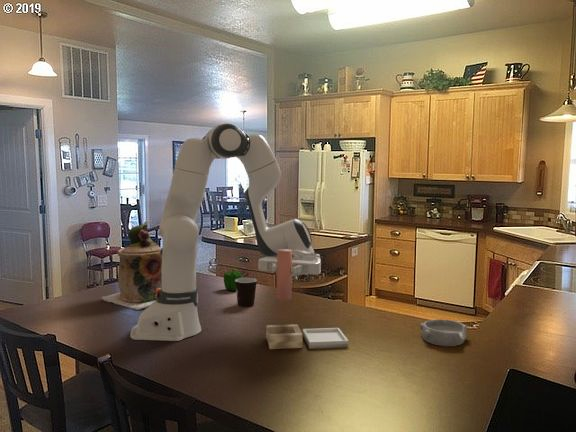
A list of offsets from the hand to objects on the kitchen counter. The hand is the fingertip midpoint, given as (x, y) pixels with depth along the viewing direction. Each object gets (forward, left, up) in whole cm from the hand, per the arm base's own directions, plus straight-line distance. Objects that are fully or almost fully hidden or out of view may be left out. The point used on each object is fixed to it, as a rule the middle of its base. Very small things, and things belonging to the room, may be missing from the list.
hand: (283, 270), depth 144 cm
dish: (+51, -2, -24) cm, 57 cm away
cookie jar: (-50, +56, -23) cm, 79 cm away
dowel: (0, +1, -9) cm, 9 cm away
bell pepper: (-14, +68, -23) cm, 73 cm away
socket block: (0, +1, -23) cm, 23 cm away
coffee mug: (-9, +45, -23) cm, 51 cm away
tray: (+13, +1, -23) cm, 27 cm away
